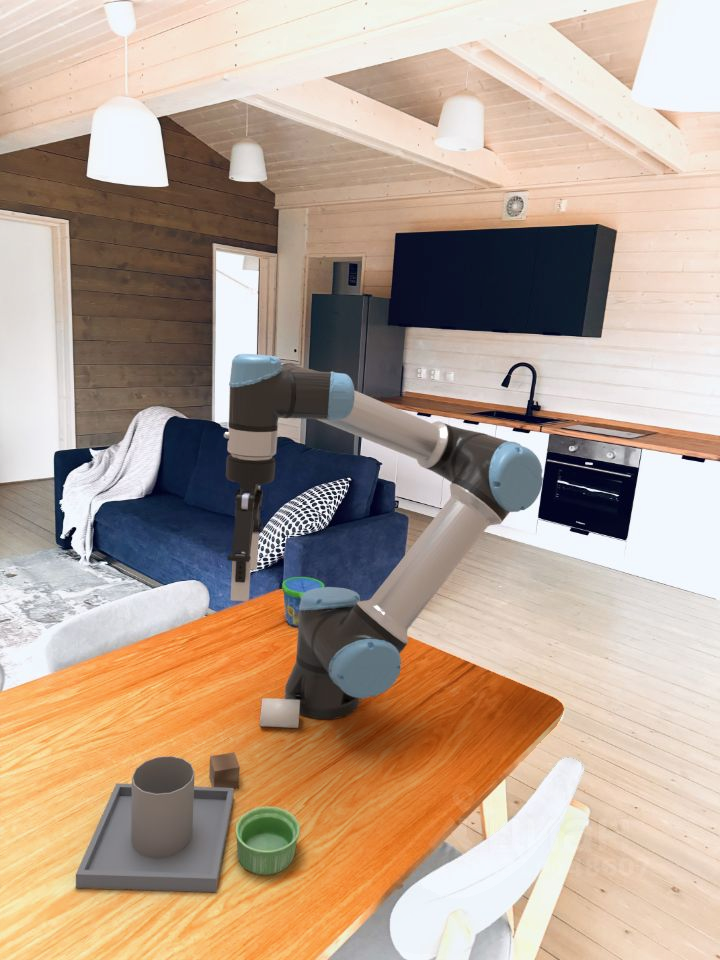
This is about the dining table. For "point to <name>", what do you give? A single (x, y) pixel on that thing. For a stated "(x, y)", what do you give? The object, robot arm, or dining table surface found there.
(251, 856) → the ramekin
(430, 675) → the dining table surface
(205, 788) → the tray
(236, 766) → the walnut block
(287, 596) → the snack cup
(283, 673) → the dining table surface
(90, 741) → the dining table surface
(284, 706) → the canister
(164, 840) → the cup
